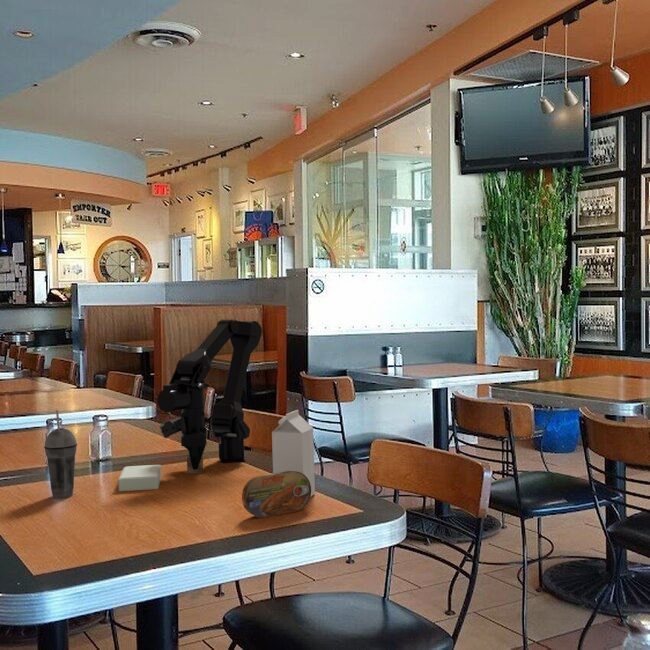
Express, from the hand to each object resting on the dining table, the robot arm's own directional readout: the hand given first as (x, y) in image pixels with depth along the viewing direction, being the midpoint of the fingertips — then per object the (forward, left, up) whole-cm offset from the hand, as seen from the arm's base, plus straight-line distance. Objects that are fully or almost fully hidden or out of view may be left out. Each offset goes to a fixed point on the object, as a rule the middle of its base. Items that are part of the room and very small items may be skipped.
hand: (195, 467), depth 208 cm
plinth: (+13, +10, -1) cm, 16 cm away
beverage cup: (+30, +18, -1) cm, 35 cm away
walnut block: (0, 0, -1) cm, 1 cm away
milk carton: (-22, +33, -1) cm, 40 cm away
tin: (-17, +45, -1) cm, 48 cm away
